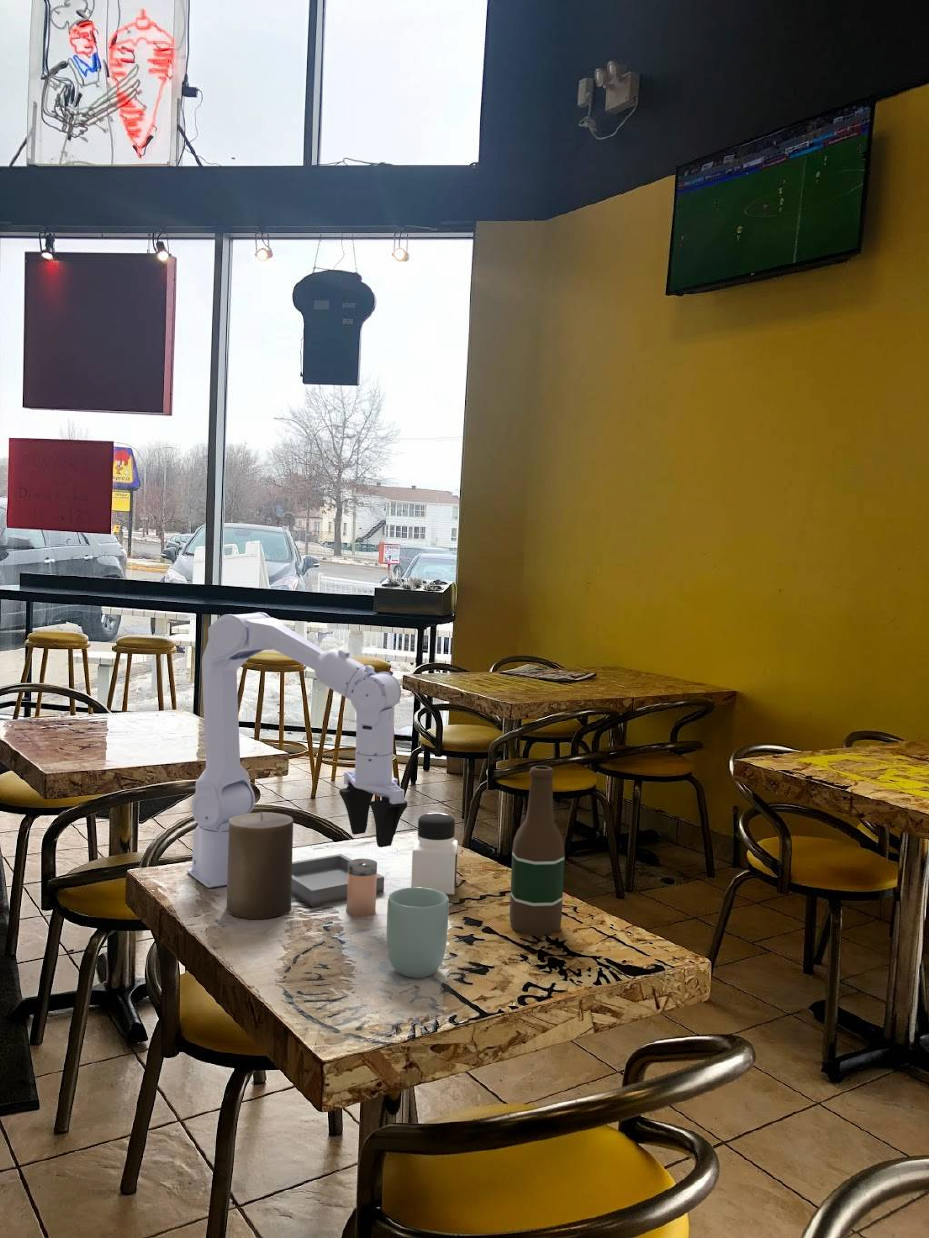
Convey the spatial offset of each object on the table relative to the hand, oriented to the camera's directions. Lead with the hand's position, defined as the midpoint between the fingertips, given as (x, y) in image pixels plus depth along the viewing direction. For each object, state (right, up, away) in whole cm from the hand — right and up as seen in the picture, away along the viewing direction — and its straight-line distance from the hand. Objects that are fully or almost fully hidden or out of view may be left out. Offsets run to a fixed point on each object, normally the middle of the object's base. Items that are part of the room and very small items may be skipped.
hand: (371, 839), depth 153 cm
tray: (-8, -10, +9) cm, 15 cm away
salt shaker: (-1, -11, -2) cm, 11 cm away
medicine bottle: (+9, -10, +10) cm, 17 cm away
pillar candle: (-17, -10, -2) cm, 20 cm away
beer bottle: (+25, -12, -5) cm, 28 cm away
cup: (+8, -13, -23) cm, 27 cm away
